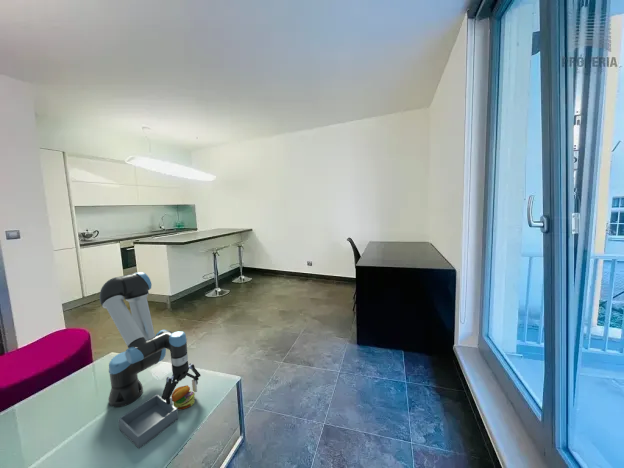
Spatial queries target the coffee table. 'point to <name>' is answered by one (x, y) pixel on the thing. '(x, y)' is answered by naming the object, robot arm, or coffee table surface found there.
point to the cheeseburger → (183, 397)
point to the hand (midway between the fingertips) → (183, 399)
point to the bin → (147, 420)
